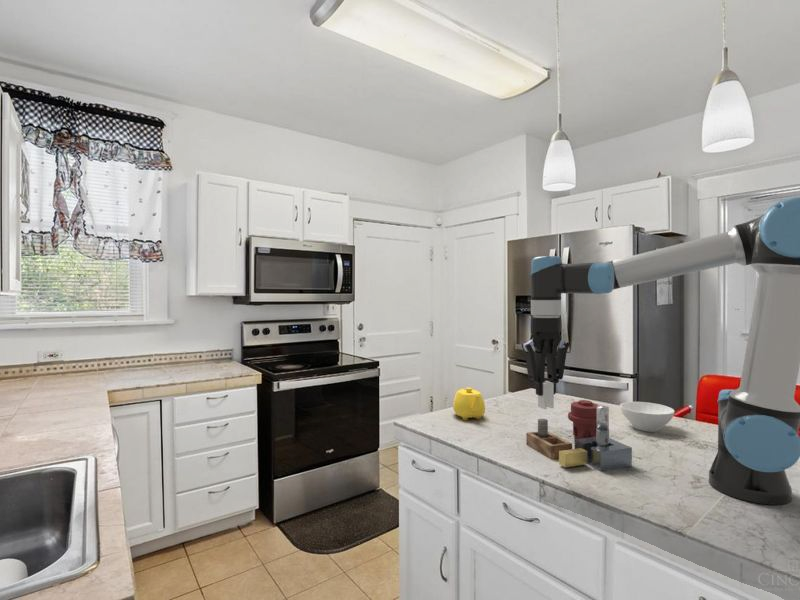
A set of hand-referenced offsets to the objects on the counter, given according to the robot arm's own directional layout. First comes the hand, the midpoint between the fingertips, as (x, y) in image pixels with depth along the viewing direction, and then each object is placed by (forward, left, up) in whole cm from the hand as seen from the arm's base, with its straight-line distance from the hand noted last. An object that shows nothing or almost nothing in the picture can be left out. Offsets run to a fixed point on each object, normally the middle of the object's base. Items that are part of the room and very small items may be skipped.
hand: (545, 407), depth 114 cm
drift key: (0, -9, -16) cm, 18 cm away
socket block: (0, -18, -16) cm, 24 cm away
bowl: (+19, -53, -17) cm, 59 cm away
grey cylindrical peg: (0, -18, -16) cm, 24 cm away
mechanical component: (+15, -25, -17) cm, 33 cm away
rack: (+12, -10, -16) cm, 22 cm away
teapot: (+49, -2, -17) cm, 52 cm away
